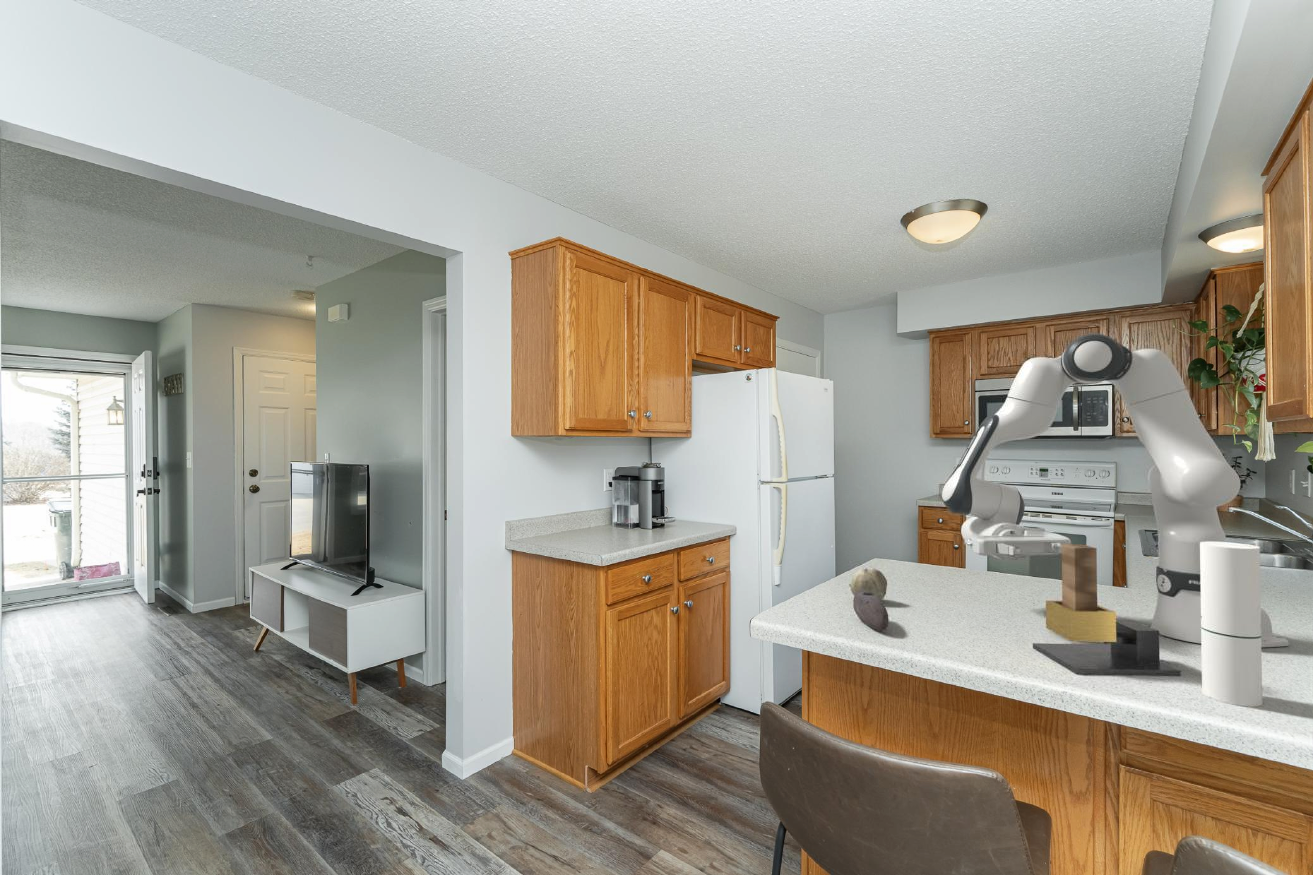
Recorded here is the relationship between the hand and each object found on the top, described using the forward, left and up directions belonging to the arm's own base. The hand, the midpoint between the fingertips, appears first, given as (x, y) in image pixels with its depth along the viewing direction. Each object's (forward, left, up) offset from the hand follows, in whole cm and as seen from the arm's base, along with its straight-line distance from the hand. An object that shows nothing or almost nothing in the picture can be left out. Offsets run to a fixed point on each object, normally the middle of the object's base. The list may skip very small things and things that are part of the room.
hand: (1039, 551), depth 130 cm
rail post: (0, +14, -13) cm, 19 cm away
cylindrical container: (-14, +30, -19) cm, 38 cm away
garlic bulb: (+28, -29, -19) cm, 45 cm away
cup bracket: (-4, +14, -19) cm, 23 cm away
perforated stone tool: (+33, -7, -19) cm, 39 cm away
